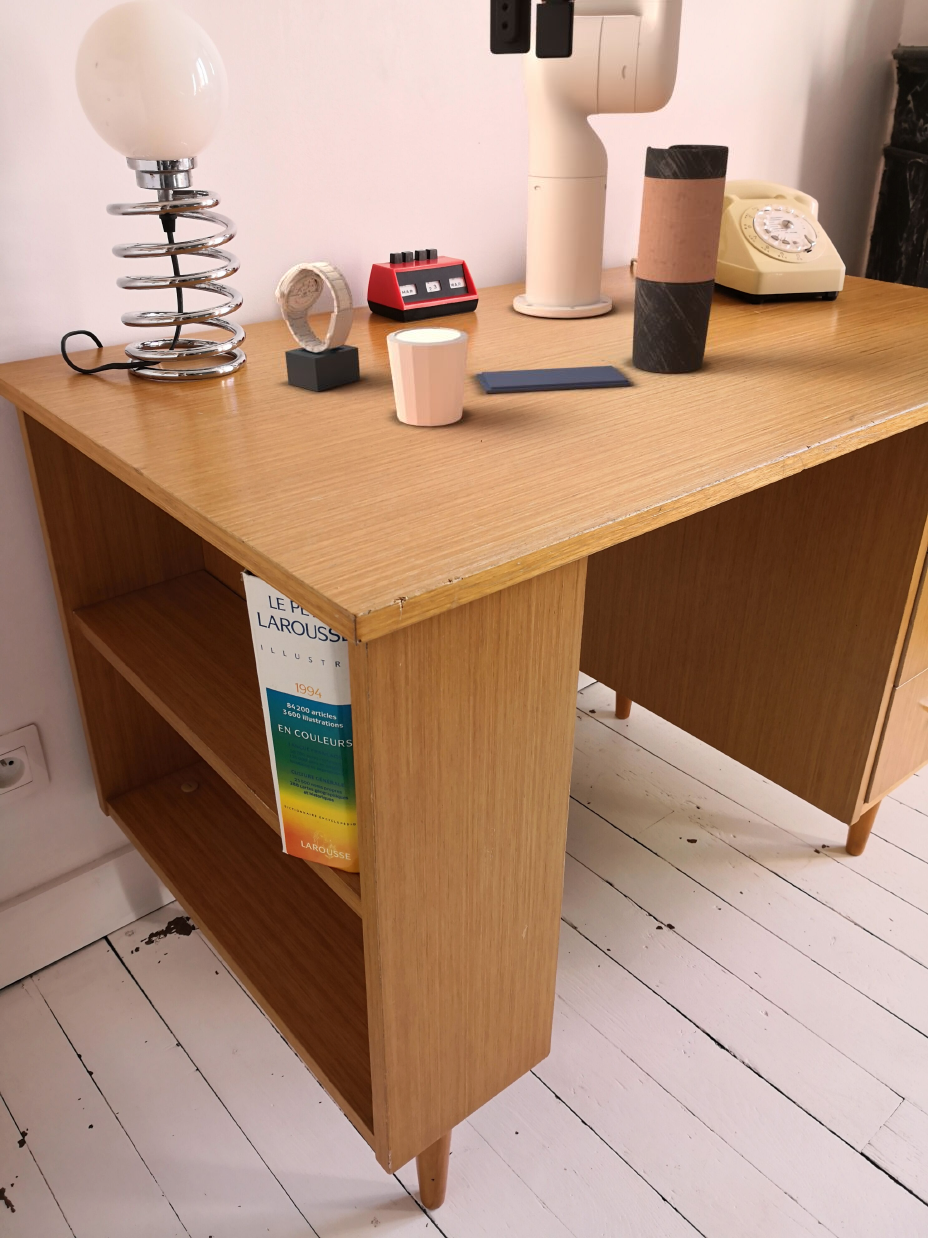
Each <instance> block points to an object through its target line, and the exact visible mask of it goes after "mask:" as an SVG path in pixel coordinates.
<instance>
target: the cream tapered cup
mask: <svg viewBox="0 0 928 1238" xmlns="http://www.w3.org/2000/svg"><path fill="white" fill-rule="evenodd" d="M386 342H387V351H388V358H389V365H390V371H391V378H392V386H393V394H394V401H395V407H396V416H397V418H398V420H399V421H400V422H402V423H404V424H407V425H412V426H416V427H417V426H418V427H436V426H437V427H439V426H446V425H450V424H454V423H456V422H458V421H460V420H461V418H462V416H463V409H464V408H463V407H464V397H465V383H466V371H467V360H468V347H469V334H467V332H465V331H462V330H459V329H456V328H450V327H437V326H436V327H435V326H434V327H433V326H426V327H425V326H423V327H410V328H404V329H399V330H396V331H393V332H391V333H389V334H388V335H387V336H386Z"/></svg>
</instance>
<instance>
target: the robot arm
mask: <svg viewBox="0 0 928 1238" xmlns="http://www.w3.org/2000/svg"><path fill="white" fill-rule="evenodd" d="M540 1H541V3H536V7H535V12H536V13H535V27H534V28H533V29H532V0H489V50H490V53H491V54H493V55H521V54H522V59H521V64H522V65H521V66H522V67H521V68H522V78H523V87H524V94H525V95H524V96H525V104H526V105H525V106H526V112H527V113H526V116H527V117H526V118H527V137H528V139H527V140H528V142H527V144H528V145H527V146H528V147H527V148H528V150H527V152H528V153H527V155H528V157H527V158H528V160H527V201H526V202H527V205H526V206H527V208H526V210H527V211H526V249H525V250H526V255H525V256H526V259H525V261H526V262H525V264H526V265H525V293H523V294H520V295H517V296H515V297H514V298H513V302H512V303H513V304H512V305H513V309H514V311H516V312H518V313H521V314H523V315H528V316H534V317H540V318H556V319H558V318H559V319H572V318H587V317H595V316H599V315H603V314H607V313H609V312H610V311H611V310H612V308H613V299H612V297H610V296H607V295H605V294H602V291H601V290H602V275H603V258H604V257H603V255H604V238H605V222H606V203H607V187H608V186H607V185H608V171H609V170H608V169H609V158H608V153H607V149H606V146H605V144H604V143H603V141H602V139H601V137H600V136H599V135H598V134H597V132H596V131H595V130H594V129H593V127H592V126H591V124H590V123H589V121H588V117H589V116H595V115H600V114H601V115H602V114H603V115H604V114H609V115H610V114H611V115H613V114H649V113H654V112H657V111H660V110H662V109H663V108H665V107H666V106H667V105H668V103H669V102H670V101H671V99H672V97H673V93H674V90H675V85H676V81H677V75H678V74H677V73H678V66H679V65H678V64H679V54H680V53H679V51H680V40H681V39H680V37H681V26H682V14H683V13H682V12H683V0H540Z"/></svg>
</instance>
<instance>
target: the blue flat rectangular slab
mask: <svg viewBox="0 0 928 1238" xmlns="http://www.w3.org/2000/svg"><path fill="white" fill-rule="evenodd" d="M475 377H476V379H477V380H478V382H479V384H480V385H481V387H482V389H483V390H484V392H485V394H500V393H503V394H504V393H518V392H537V391H538V392H540V391H559V390H576V389H577V390H578V389H580V390H581V389H595V388H596V389H597V388H598V389H599V388H614V387H615V388H617V387H631V385H632V383H631V382H630V381H629V379H628V378H627V377H625V376H624V375H623V374H621V373H620V371H618V369H616V368H615V367H614V366H613V365H597V366H595V365H594V366H576V367H557V368H539V369H538V368H536V369H535V368H534V369H518V370H516V369H515V370H496V371H482V372H481V373H476V374H475Z"/></svg>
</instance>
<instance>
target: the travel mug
mask: <svg viewBox="0 0 928 1238" xmlns="http://www.w3.org/2000/svg"><path fill="white" fill-rule="evenodd" d="M645 152H646V153H645V164H644V173H643V174H644V176H643V188H642V196H641V197H642V198H641V199H642V200H641V211H640V223H639V234H638V246H637V256H636V257H637V258H636V270H635V271H636V272H635V276H636V277H635V286H634V305H633V306H634V309H633V329H632V330H633V332H632V352H631V353H632V354H631V356H632V357H631V358H632V359H631V361H632V365H633V366H634V367H636V368H637V369H640V370H643V371H646V372H653V373H661V374H683V373H691V372H695V371H697V370H699V369H701V368H702V366H703V364H704V357H705V350H706V344H707V339H708V338H707V337H708V332H709V331H708V330H709V324H710V317H711V311H712V304H713V303H712V302H713V296H714V289H715V282H716V274H717V266H718V256H719V249H720V248H719V247H720V237H721V229H722V228H721V227H722V219H723V218H722V217H723V209H724V199H725V190H726V182H727V181H726V180H727V169H728V160H729V152H730V147H729V146H727V145H717V144H672V145H670V146H669V147H668V148H659V147H652V146H651V145H650V146H647V147H646V151H645Z"/></svg>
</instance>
